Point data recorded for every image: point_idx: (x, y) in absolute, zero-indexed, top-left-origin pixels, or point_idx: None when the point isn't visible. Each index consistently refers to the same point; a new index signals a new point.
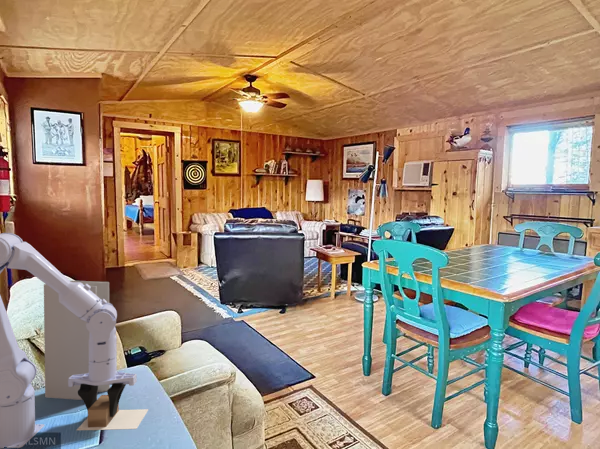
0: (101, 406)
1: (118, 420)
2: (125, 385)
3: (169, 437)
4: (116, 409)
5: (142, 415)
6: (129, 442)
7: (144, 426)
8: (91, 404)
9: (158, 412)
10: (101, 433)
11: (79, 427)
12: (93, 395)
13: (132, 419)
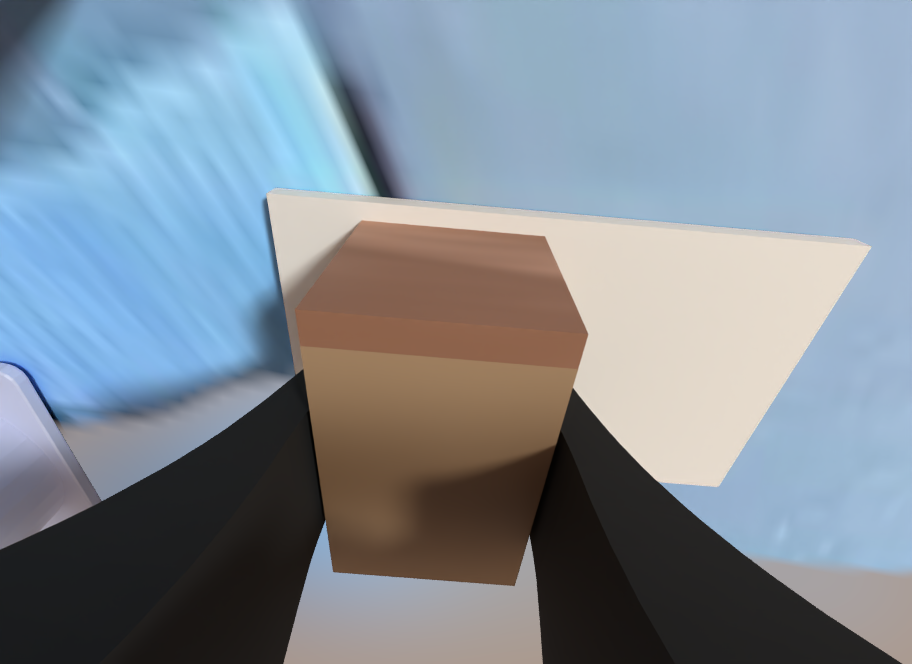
0: (446, 547)
1: (577, 391)
2: (855, 646)
3: (896, 538)
4: None
5: (784, 348)
6: None
7: (769, 439)
8: (313, 519)
9: None
10: None
11: None
12: (270, 579)
13: (692, 391)
